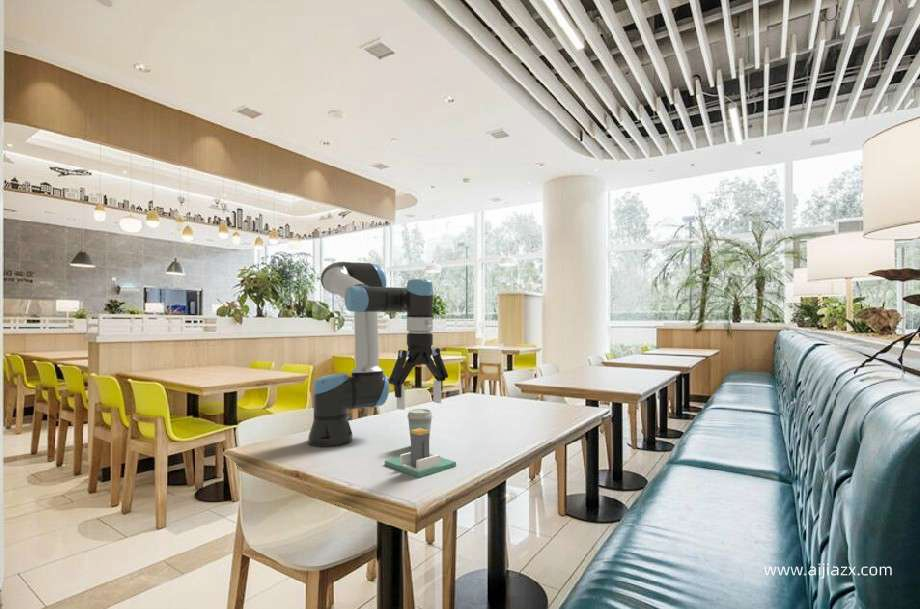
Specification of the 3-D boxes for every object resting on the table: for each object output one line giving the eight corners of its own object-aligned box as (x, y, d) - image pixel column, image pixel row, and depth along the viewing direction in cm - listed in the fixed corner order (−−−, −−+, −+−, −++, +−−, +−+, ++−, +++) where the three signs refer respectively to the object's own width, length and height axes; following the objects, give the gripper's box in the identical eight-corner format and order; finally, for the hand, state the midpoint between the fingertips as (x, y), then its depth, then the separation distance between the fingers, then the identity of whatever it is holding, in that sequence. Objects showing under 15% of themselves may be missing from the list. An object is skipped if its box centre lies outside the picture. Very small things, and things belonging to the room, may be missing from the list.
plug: (410, 465, 134) (410, 430, 134) (420, 462, 136) (420, 428, 136) (421, 468, 130) (421, 432, 131) (430, 466, 133) (430, 430, 133)
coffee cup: (428, 450, 153) (428, 413, 153) (403, 449, 155) (403, 413, 155) (435, 443, 161) (435, 409, 162) (411, 442, 163) (411, 408, 163)
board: (384, 464, 138) (384, 450, 138) (421, 455, 148) (421, 441, 148) (418, 477, 127) (418, 462, 127) (456, 466, 137) (456, 451, 137)
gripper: (392, 334, 124) (391, 414, 124) (459, 331, 141) (459, 401, 141) (376, 333, 129) (375, 409, 129) (443, 331, 147) (443, 398, 146)
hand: (419, 405), depth 135 cm, fingers open, 13 cm apart
